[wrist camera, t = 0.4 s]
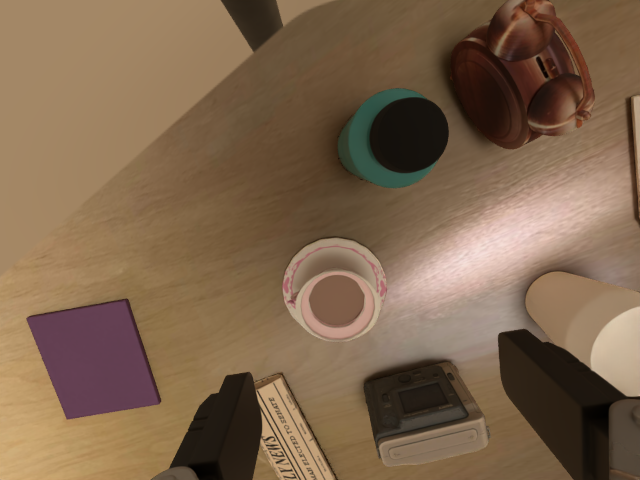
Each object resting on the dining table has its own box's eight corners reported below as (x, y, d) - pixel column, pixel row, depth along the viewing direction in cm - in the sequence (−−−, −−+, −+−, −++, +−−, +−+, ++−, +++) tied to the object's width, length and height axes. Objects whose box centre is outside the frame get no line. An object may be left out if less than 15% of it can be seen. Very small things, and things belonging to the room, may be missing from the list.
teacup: (390, 238, 41) (402, 253, 35) (381, 335, 43) (391, 365, 37) (283, 234, 40) (277, 248, 34) (281, 332, 43) (275, 361, 37)
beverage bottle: (346, 186, 39) (374, 217, 20) (326, 126, 38) (334, 95, 18) (404, 165, 39) (490, 176, 19) (385, 104, 37) (459, 48, 18)
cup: (580, 336, 43) (676, 402, 32) (506, 329, 43) (576, 393, 32) (600, 264, 41) (711, 307, 30) (523, 257, 41) (605, 297, 30)
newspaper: (354, 511, 49) (356, 524, 48) (307, 528, 50) (307, 541, 48) (282, 371, 44) (280, 380, 43) (230, 392, 45) (227, 401, 43)
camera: (368, 410, 46) (382, 479, 36) (359, 371, 44) (370, 432, 35) (458, 391, 45) (496, 456, 35) (451, 351, 44) (488, 407, 34)
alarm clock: (520, 127, 38) (647, 110, 23) (479, 153, 39) (578, 152, 24) (472, 32, 36) (578, -53, 21) (430, 60, 36) (505, -3, 22)
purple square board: (29, 316, 43) (25, 318, 42) (127, 298, 42) (125, 300, 42) (70, 416, 46) (66, 419, 45) (161, 401, 45) (159, 404, 45)
